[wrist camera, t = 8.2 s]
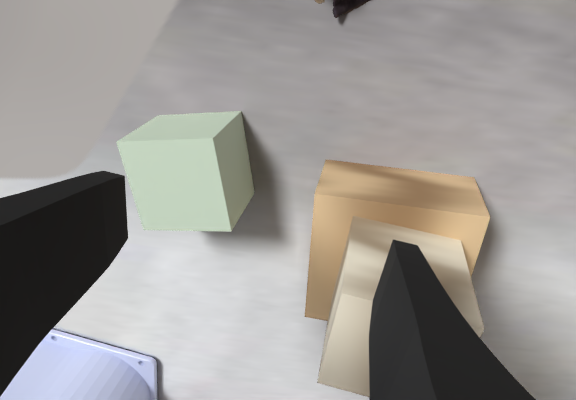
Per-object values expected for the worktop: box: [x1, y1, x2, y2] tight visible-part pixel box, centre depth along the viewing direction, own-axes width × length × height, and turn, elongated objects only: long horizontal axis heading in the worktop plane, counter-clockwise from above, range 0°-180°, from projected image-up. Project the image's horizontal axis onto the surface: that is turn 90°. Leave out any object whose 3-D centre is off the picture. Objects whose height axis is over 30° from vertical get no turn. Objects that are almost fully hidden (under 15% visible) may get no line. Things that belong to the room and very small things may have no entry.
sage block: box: [117, 111, 255, 232], centre depth 21 cm, size 4×4×4 cm
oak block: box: [305, 160, 490, 321], centre depth 21 cm, size 7×7×4 cm
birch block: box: [317, 216, 484, 397], centre depth 17 cm, size 4×4×5 cm
